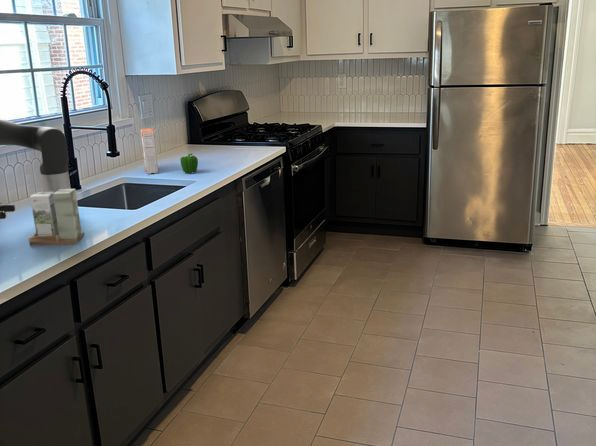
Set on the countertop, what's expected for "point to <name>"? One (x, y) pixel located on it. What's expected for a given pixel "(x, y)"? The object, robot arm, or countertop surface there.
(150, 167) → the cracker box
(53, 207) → the syrup box
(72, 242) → the wooden tray with block
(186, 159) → the bell pepper
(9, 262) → the countertop surface
